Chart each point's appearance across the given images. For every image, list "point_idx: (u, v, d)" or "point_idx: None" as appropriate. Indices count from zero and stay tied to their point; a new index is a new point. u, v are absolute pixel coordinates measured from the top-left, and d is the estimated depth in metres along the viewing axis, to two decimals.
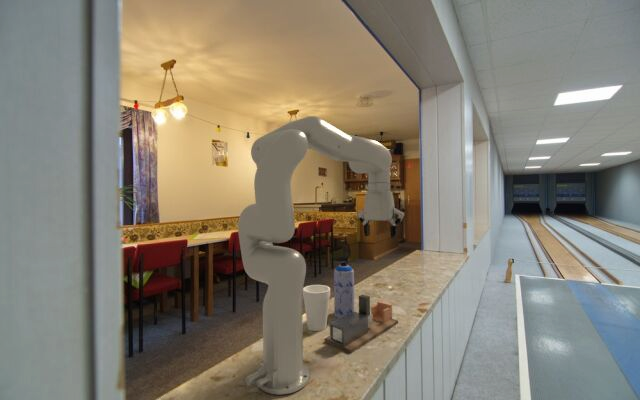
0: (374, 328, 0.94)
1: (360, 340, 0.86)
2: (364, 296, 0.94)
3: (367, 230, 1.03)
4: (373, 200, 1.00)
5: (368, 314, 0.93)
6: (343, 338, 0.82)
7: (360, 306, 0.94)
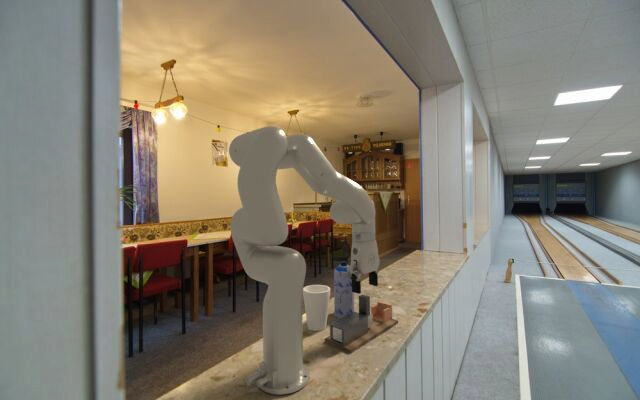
0: (374, 328, 0.94)
1: (360, 340, 0.86)
2: (364, 296, 0.94)
3: None
4: (369, 251, 0.92)
5: (368, 314, 0.93)
6: (343, 338, 0.82)
7: (360, 306, 0.94)
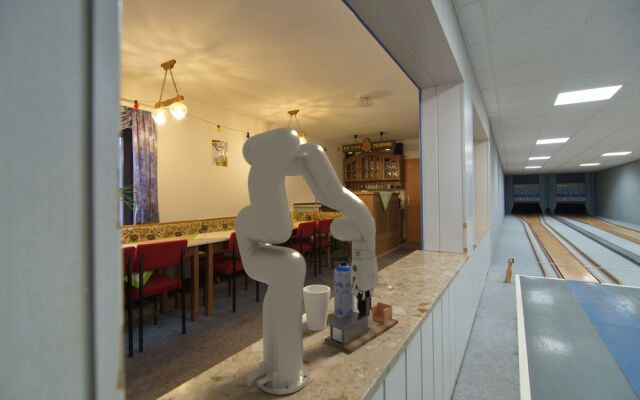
0: (374, 328, 0.94)
1: (360, 340, 0.86)
2: None
3: None
4: (368, 269, 0.91)
5: (368, 314, 0.93)
6: (343, 338, 0.82)
7: None
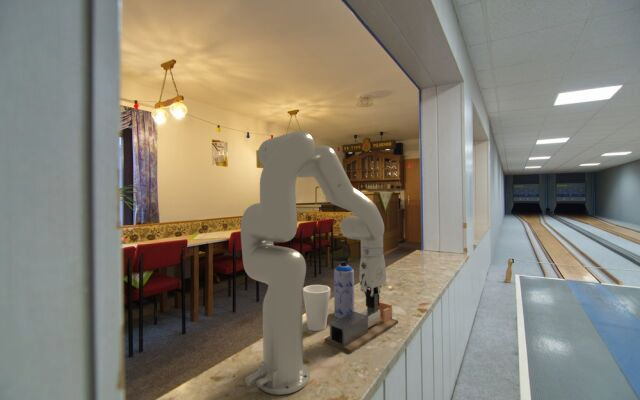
0: (374, 328, 0.94)
1: (360, 340, 0.86)
2: None
3: None
4: (377, 266, 0.95)
5: (376, 310, 0.96)
6: (343, 338, 0.82)
7: None
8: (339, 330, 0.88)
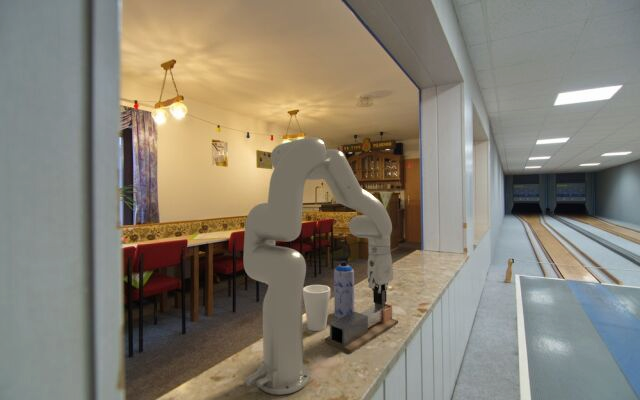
0: (374, 328, 0.94)
1: (360, 340, 0.86)
2: None
3: None
4: (384, 264, 0.98)
5: (383, 306, 1.00)
6: (343, 338, 0.82)
7: None
8: (339, 330, 0.88)
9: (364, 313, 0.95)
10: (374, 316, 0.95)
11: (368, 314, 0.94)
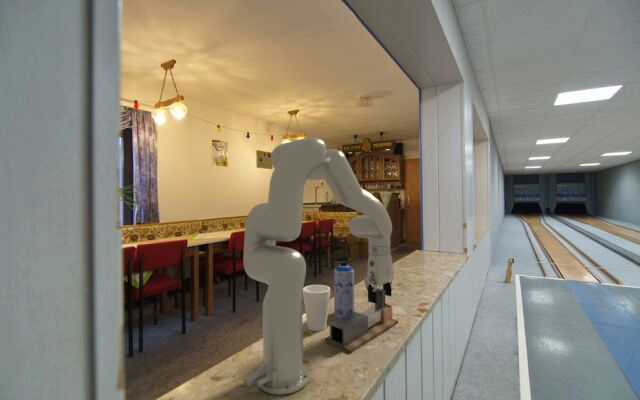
0: (374, 328, 0.94)
1: (360, 340, 0.86)
2: (380, 289, 1.01)
3: None
4: (384, 264, 0.98)
5: (384, 306, 1.00)
6: (343, 338, 0.82)
7: None
8: (339, 330, 0.88)
9: (364, 313, 0.95)
10: (374, 316, 0.95)
11: (368, 314, 0.94)
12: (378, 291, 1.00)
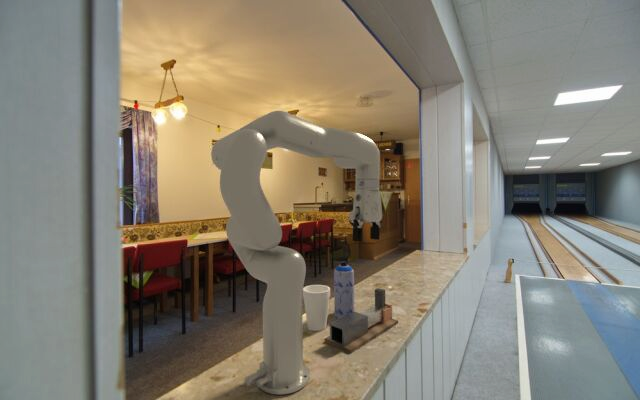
0: (374, 328, 0.94)
1: (360, 340, 0.86)
2: (380, 289, 1.01)
3: None
4: (372, 199, 0.88)
5: (384, 306, 1.00)
6: (343, 338, 0.82)
7: (376, 299, 1.01)
8: (339, 330, 0.88)
9: (364, 313, 0.95)
10: (374, 316, 0.95)
11: (368, 314, 0.94)
12: (378, 291, 1.00)
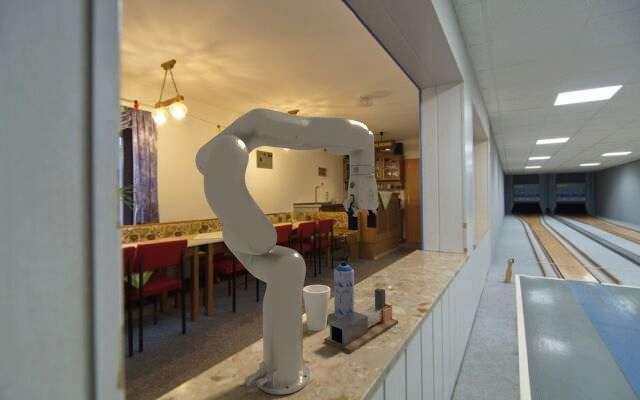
0: (374, 328, 0.94)
1: (360, 340, 0.86)
2: (380, 289, 1.01)
3: None
4: (367, 186, 0.84)
5: (384, 306, 1.00)
6: (343, 338, 0.82)
7: (376, 299, 1.01)
8: (339, 330, 0.88)
9: (364, 313, 0.95)
10: (374, 316, 0.95)
11: (368, 314, 0.94)
12: (378, 291, 1.00)
